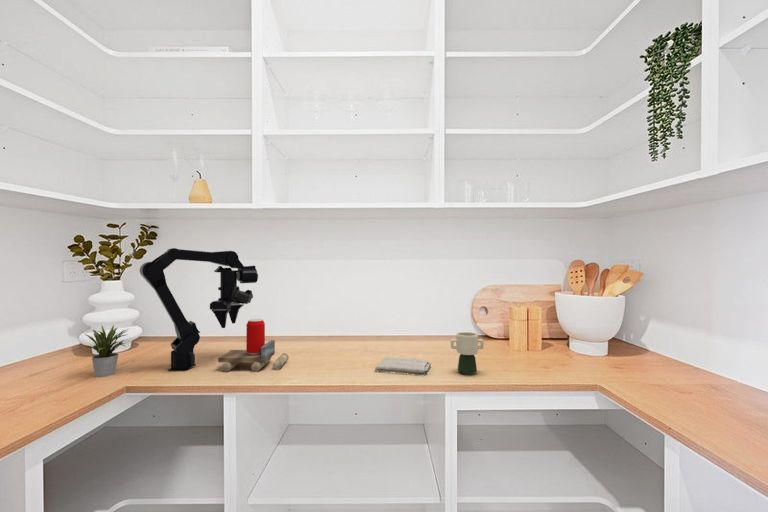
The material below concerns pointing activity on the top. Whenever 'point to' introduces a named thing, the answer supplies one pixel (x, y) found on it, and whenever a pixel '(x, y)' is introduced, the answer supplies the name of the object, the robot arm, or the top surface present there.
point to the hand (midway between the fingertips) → (228, 325)
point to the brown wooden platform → (248, 357)
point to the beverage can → (255, 336)
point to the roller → (280, 361)
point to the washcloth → (403, 365)
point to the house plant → (105, 352)
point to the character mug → (467, 350)
